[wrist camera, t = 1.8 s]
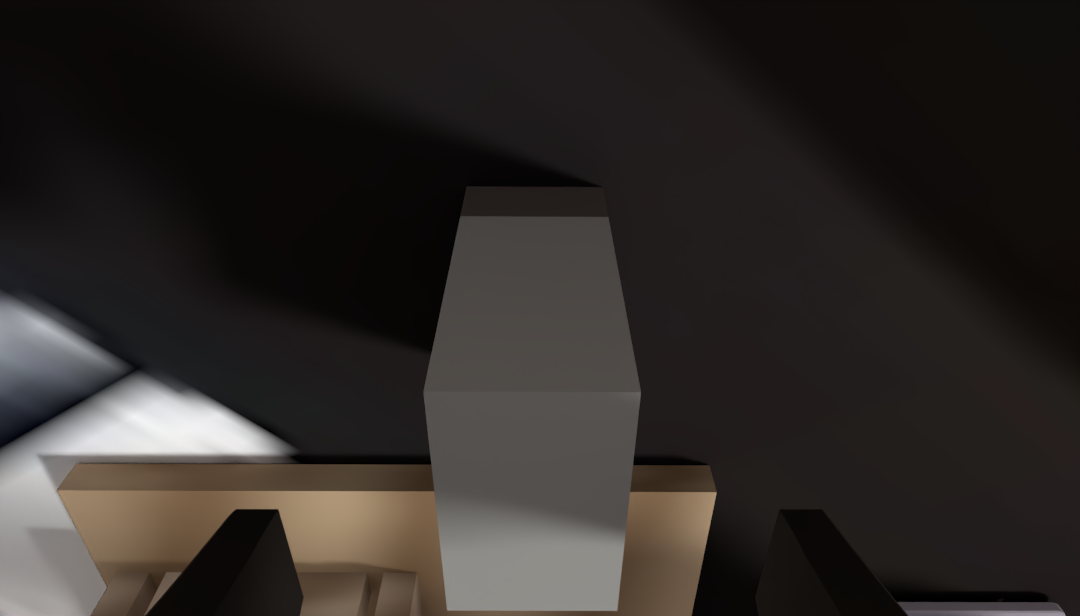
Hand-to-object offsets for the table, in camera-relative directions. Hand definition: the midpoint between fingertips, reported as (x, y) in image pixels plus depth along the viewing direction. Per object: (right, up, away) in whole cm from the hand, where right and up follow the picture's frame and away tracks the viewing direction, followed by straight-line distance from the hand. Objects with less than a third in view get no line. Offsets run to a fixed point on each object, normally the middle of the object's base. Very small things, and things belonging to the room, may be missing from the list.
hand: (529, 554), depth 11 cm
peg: (0, +4, +7) cm, 8 cm away
